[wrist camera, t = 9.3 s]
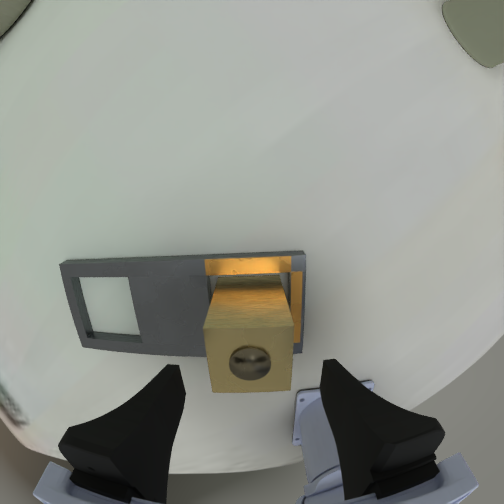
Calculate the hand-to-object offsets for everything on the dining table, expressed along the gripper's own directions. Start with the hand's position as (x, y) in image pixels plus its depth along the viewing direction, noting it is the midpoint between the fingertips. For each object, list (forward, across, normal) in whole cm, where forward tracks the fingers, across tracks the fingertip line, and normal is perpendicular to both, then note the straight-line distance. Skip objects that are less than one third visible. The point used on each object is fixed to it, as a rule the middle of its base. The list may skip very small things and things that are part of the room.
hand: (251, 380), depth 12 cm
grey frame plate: (+9, +6, 0) cm, 11 cm away
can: (+9, -26, -29) cm, 40 cm away
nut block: (+9, 0, 0) cm, 9 cm away
